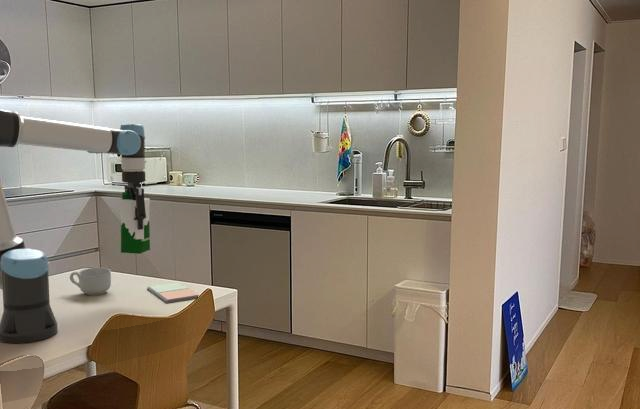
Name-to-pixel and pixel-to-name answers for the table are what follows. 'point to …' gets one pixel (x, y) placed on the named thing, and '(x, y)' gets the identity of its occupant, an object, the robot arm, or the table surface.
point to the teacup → (93, 280)
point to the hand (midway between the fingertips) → (135, 236)
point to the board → (172, 292)
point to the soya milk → (133, 226)
